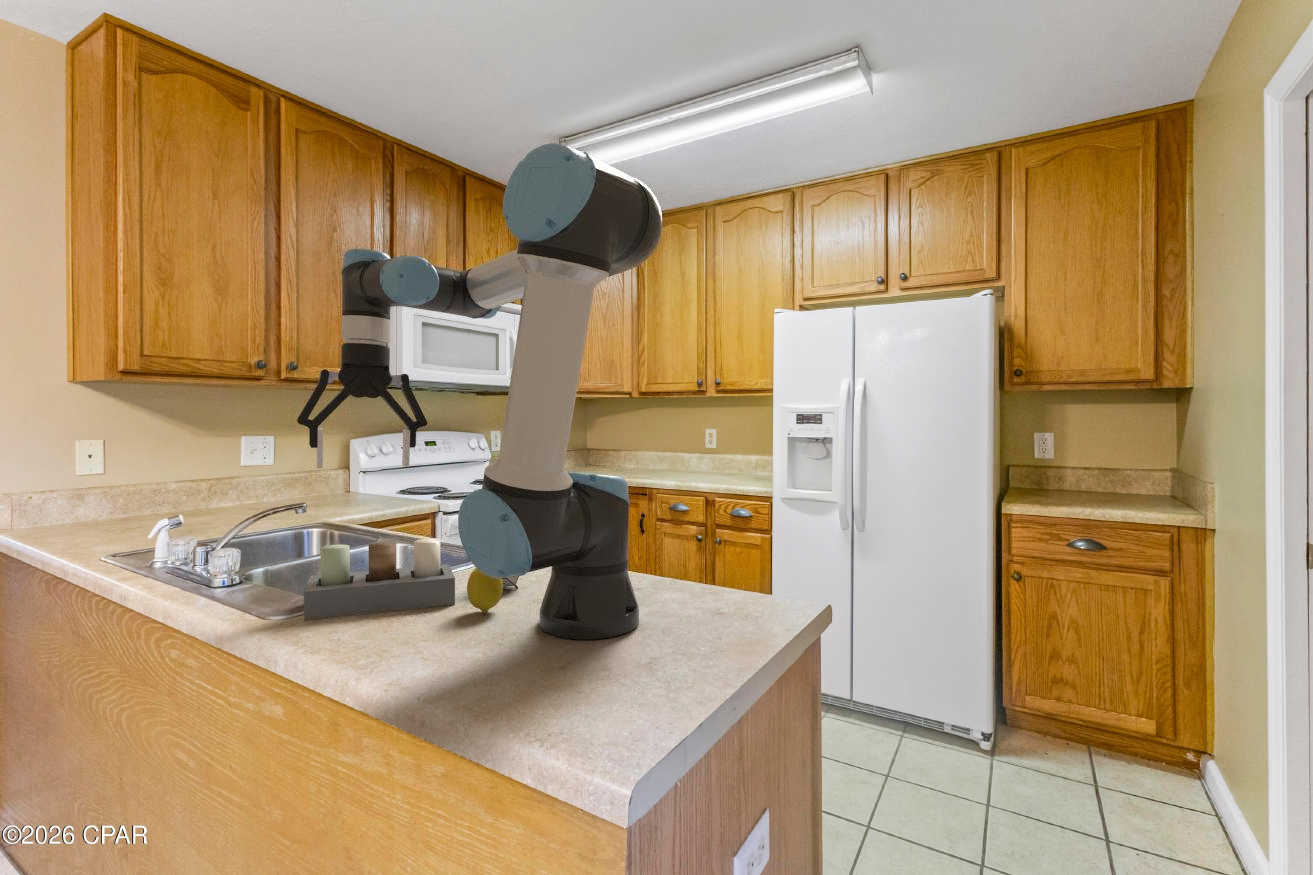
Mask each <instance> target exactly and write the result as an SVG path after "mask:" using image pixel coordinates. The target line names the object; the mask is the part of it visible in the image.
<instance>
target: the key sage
mask: <svg viewBox="0 0 1313 875" xmlns="http://www.w3.org/2000/svg"><path fill="white" fill-rule="evenodd" d="M350 548H351V545H349V544H331V545H323V546H321V547H320V575H321V586H329V585H340V584H350V572H351V561H350V560H351V556H350V555H351V554H350V553H351V552H350V551H351V549H350Z"/></svg>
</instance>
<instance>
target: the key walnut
mask: <svg viewBox="0 0 1313 875" xmlns="http://www.w3.org/2000/svg"><path fill="white" fill-rule="evenodd" d="M396 569H397V542H396V541H395V542H394V541H377V542H372V543H369V544H368V571H369V582H374V581H385V580H396Z"/></svg>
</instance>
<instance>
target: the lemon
mask: <svg viewBox="0 0 1313 875" xmlns="http://www.w3.org/2000/svg"><path fill="white" fill-rule="evenodd" d="M503 589H504V587H503V583H502V578H493V577H490V576H487V575H485V574H484V573H482V572H481V571H479V570H478V569H477V568H476V567H475V568H474V569H473V570H472V571H471V573H470V574H469V577H468V580H467V585H466V592H467V598H468V601H469V602H470V604H471V606H473V607H474V608H476V609H478V610H480V611H481V612H482V613H483V614H484V613H488V611H490V609H492V608H494V607H495V606H496V605H498V603H499V602H500V601H501V598H502V595H503V591H504V590H503Z"/></svg>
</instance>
